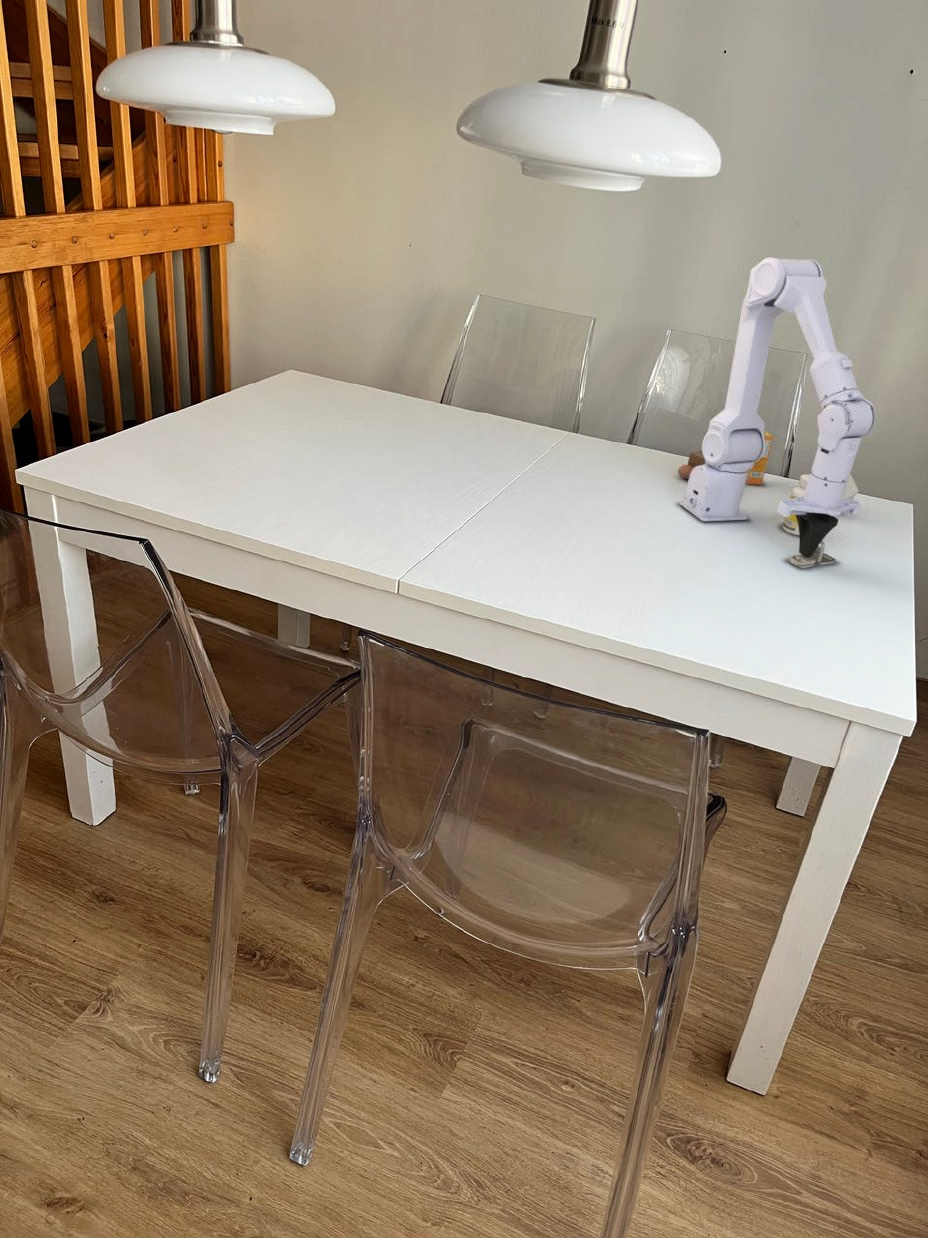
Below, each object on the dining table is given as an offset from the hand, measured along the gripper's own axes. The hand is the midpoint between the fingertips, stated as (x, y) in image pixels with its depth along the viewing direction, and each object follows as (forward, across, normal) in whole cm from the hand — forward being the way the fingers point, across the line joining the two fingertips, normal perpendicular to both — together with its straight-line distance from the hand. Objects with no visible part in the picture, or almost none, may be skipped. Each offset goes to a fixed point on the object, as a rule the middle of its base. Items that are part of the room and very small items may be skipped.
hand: (805, 554), depth 158 cm
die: (+2, +21, +21) cm, 30 cm away
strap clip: (+2, +2, 0) cm, 2 cm away
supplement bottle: (+2, +8, +12) cm, 15 cm away
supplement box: (+2, +14, +35) cm, 38 cm away
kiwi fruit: (+1, +1, +38) cm, 38 cm away
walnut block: (+1, +4, +37) cm, 37 cm away
